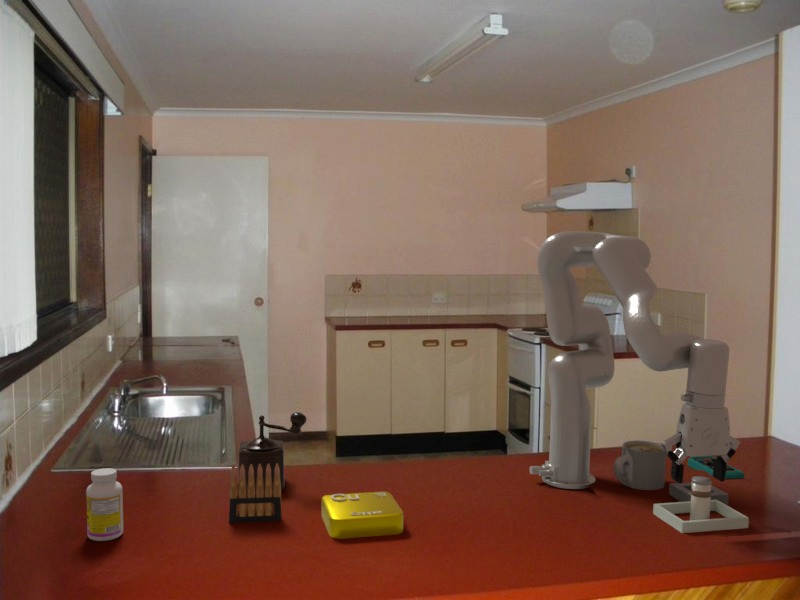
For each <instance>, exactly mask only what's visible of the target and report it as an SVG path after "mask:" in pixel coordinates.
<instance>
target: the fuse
mask: <svg viewBox="0 0 800 600" xmlns="http://www.w3.org/2000/svg"><path fill="white" fill-rule="evenodd" d="M691 482H692V487H691V507H690V513H689V521H691V520H704V519H711V518H710V515H711V511H710V500H711V485H712V483H713V480H712V479H711V478H710V477H707V476H700V475H697V476H696V475H694V476H691Z"/></svg>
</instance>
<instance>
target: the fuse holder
mask: <svg viewBox="0 0 800 600" xmlns="http://www.w3.org/2000/svg"><path fill="white" fill-rule="evenodd" d="M691 487H692V481H690V482H682V483H677V482H675V483H669V486H668V495H669V496H670V497H672V498H674V499H675V500H677V501H678V502H689V501H691ZM729 496H730V494H729V493H727V492H725V491H724V490H721V489H719V488H718V487H716V486H714V485H712V484H711V500H718V501H720V502H722V503H724V504H725V505H727V506H729Z"/></svg>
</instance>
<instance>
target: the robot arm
mask: <svg viewBox="0 0 800 600" xmlns="http://www.w3.org/2000/svg"><path fill="white" fill-rule="evenodd" d="M651 256H652V255H651V250H650V248H649V246H648V245H647V244H646V242H645V241H643V239H640V238H638V237H635V236H627V235H620V234H613V233H608V232H601V231H579V230H578V231H577V230H576V231H575V230H574V231H573V230H571V231H570V230H569V231H568V230H567V231H562V232H557V233H555V234H551V235H549V237H547V238H545V240H544V241H543V242H542V243H541V246H540V248H539V251H538V253H537V257H536V258H537V259H536V264H537V271H538V276H539V279H540V282H541V287H542V291H543V292H542V293H543V300H544V308H545V315H546V322H547V329H548V335H549V337H550V340H551V342H553V343H554V344H556V345H558V346H561V347H563V346H564V347H565V346H578V350H577V349H576V350H571V351H565V352H561V353H558V354H557V355H556V356H554V357H553V358H552V360H550V362H549V364H548V367H547V379H548V384H549V386H548V387H549V392H550V422H549V423H550V427H549V452H548V453H549V456H548V460H544V461H545V462H544V464H542V465H539V466H538V465H530V466H529V469H528V470H529V473H530V475H538V477H541V480H542V481H543V482H544V483H545V484H546V485H549V486H551V487H554V488H560V489H566V490H584V489H588V488H589V489H590V486H589V485H592V484H595V482H596V477H595V476H594V475H593V474H591V473H590V463H591V462H590V460H591V437H592V436H591V432H592V431H591V430H592V429H591V428H592V407H591V402H590V400H589V397H588V394H587V390H592V389H597V388H601V387H604V386H606V385H608V384H609V383H610V382H611V381H612V379H613V377H614V375H615V374H614V373H615V359H614V358H615V357H614V349H613V345H612V342H613V341H612V337H611V336H612V335H611V330H610V325H609V321H608V318H607V316H606V315H605V312H603V310H602V309H600V308H599V307H598V306H596V305H593V304H582V299H581V293H580V287H579V284H578V282H577V279H576V277H575V276H574V275H573V273H572V272H571V269H572V268H597V270H598V271H599V273H600V275H601V276H602V278H603V280H604V281H605V282H606V284H607V286H608V287H609V288H610V289H611V291H612V294H614V296H615V297H616V299H617V301H618V302H619V304H620V305H621V307H622V323H623V330H624V333H625V337H626V339H627V342H629V344H630V346H631V347H632V349H633V351H634V352H635V353H636V355H637V356H638V358H639V360H641V362H642V363H643V364H644V365H645V367H647V368H648V369H650V370H651V371H655V372H661V373H662V372H668V371H673V370H681V369H682V370H683V369H687V379H686V380H687V381H686V390H685V394H681V395H680V400H681V402H684V404H682V405H681V409H680V411H679V416H678V420H677V423H676V424H677V425H676V430H675V431H676V432H675V434H673V435H672V436H670V437H668V438H666V439H664V440H663V441H662V442H661V444H662V446H663V448H664V450H665V454H666V457H668V458H669V460H670V461H671V467H670V468H671V469H670V476H671V480H673V481H674V482H675V483H684V481H683V480H684V473H685V472H684V471H685V465H684V464H683V462H684V461H685V460H686V458H688V457H689V458H691V457H710V456H711V457H714V458H715V460H714V467H713V476H712V477H713V478H714V479H715V480H717V481H720V482H721V483H722V482H725V481H726V479H725V475H726V465H728V464H729V462H730V461H731V458H732V457H733V456H734V455H735V454H736V450H737V449H738V447H739V446H740V443H741V442H740V440H739V439H737V438H735V437H733V436H732V435H731V430H730V429H731V426H730V425H731V424H730V415H729V409H728V407H726V406H725V405H726V403H725V402H726V401H725V400H726V392H727V382H728V381H727V380H728V372H729V371H728V370H729V361H730V346H729V345H728V344H727V343H726V342H725V341H723V340H717V339H711V338H703V337H701V336H698V335H694V334H692V333H688V332H676V333H665V334H662V332H661V331H660V329H659V328H658V326H657V325H656V323H655V321H654V320H653V318H652V316H651V313H650V303H651V302H652V301H653V300H654V298H655V297H656V296H657V294H658V287H657V284H656V282H655V281H654V280H653V278H652V277H651V276H650V274H649V272H648V271H647V268H648V267H649V265H650V263H651V258H652V257H651ZM673 446H674V447H675V450H674V451H673Z"/></svg>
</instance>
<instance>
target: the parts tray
mask: <svg viewBox="0 0 800 600" xmlns="http://www.w3.org/2000/svg"><path fill="white" fill-rule="evenodd" d="M690 507H691V501H689V502H680V501H675V502H664V503H663V502H660V503H653V508H652V514H653V515H655V516H656V518H658V519H660V520H662V522H665V523H666V524H667V525H669V526H671V527H672V528H674V529H675V530H676V531H677V532H679V533H681V534H687V533H688V534H689V533H700V532H701V533H702V532H713V531H725V530H726V531H727V530H740V529H742V530H743V529H748V528H749V523H750V520H749V519H750V517H748V516H747V515H745V514H743V513H741V512H739V511H738V510H736V509H734V508H732V507H731V506H729V505H728V506H727V505H725V504H724V503H722V502H720V501H718V500H710V512H714V511H715V512H716V513H718V514H720V515H721V516H723V517H722V518H721V517H720V518H719V517H718V518H710V519H704V520H691V521H690V520H683V519H681V518H680V517H679V516H677V514H688V513H689V514H690ZM675 514H676V515H675Z"/></svg>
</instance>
